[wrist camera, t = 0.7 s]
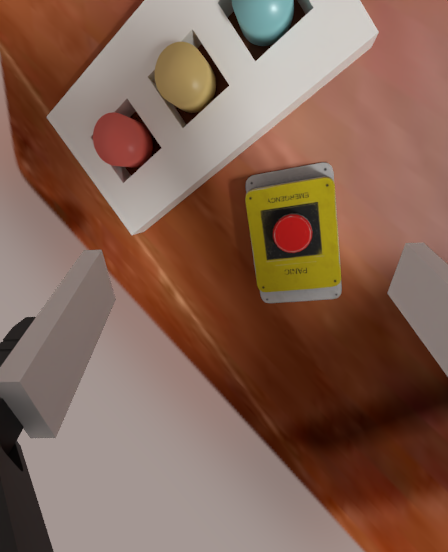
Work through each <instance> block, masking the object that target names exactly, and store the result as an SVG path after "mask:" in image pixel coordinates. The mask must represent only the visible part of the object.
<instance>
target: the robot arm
mask: <svg viewBox="0 0 448 552" xmlns="http://www.w3.org/2000/svg"><path fill="white" fill-rule="evenodd" d="M387 294H388V295H389V296H390V298H391V299H392V301H393V302H394V303H395V305H396V306H397V307H398V309H399V310H400V312H401V313H402V314H403V316H404V317H405V318H406V320H407V321H408V323H409V324H410V325H411V327H412V328H413V330H414V331H415V332H416V334H417V335H418V336H419V338H420V339H421V341H422V342H423V343H424V345H425V346H426V348H427V349H428V350H429V352H430V353H431V354H432V356H433V357H434V359H435V360H436V361H437V363H438V364H439V365H440V367H441V368H442V370H443V371H444V372H445V374H446V375H447V377H448V264H447V263H446V262H445V261H443V260H442V259H441V258H440V257H439V256H438V255H437V254H436V253H434V252H433V251H432V250H431V249H430V248H429V247H428V246H427V245H425V244H424V243H406V244H405V246H404V249H403V252H402V255H401V257H400V260H399V263H398V265H397V268H396V271H395V274H394V276H393V279H392V282H391V285H390V287H389V290H388V293H387ZM115 300H116V299H115V295H114V292H113V288H112V285H111V281H110V278H109V274H108V271H107V267H106V264H105V260H104V257H103V253H102V250H84V251H83V252H82V254H81V255H80V256H79V258H78V259H77V261H76V262H75V263H74V265H73V266H72V268H71V269H70V270H69V272H68V273H67V275H66V276H65V277H64V279H63V280H62V282H61V283H60V285H59V286H58V287H57V289H56V290H55V292H54V293H53V294H52V296H51V297H50V299H49V300H48V301H47V303H46V304H45V306H44V307H43V308H42V310H41V311H40V312H39V314H38V315H37V317H26V318H25V319H23V320H22V321H21V322H19V323H18V324H17V325H15V326H14V327H13V328H12V329H11V330H10V331H9V333H8V334H7V335H6V337H5V338H4V339H3V342H1V343H0V552H53V549H52V545H51V542H50V539H49V536H48V533H47V529H46V526H45V524H44V520H43V517H42V513H41V510H40V507H39V504H38V501H37V498H36V494H35V491H34V488H33V485H32V481H31V478H30V475H29V472H28V469H27V465H26V462H25V459H24V456H23V453H22V449H21V446H20V445H19V443H18V442H17V439H18V437H19V435H20V433H21V431H22V429H23V428H24V430H25V431H26V433H27V434H28V435H29V437H30V438H55V437H56V436H57V433H58V431H59V429H60V427H61V424H62V422H63V420H64V417H65V415H66V413H67V411H68V408H69V406H70V403H71V401H72V399H73V397H74V394H75V392H76V390H77V387H78V385H79V383H80V380H81V378H82V376H83V374H84V371H85V369H86V367H87V364H88V362H89V360H90V358H91V355H92V353H93V350H94V348H95V346H96V344H97V341H98V339H99V337H100V334H101V332H102V330H103V327H104V325H105V323H106V320H107V318H108V316H109V314H110V311H111V309H112V307H113V305H114V302H115Z"/></svg>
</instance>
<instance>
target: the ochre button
mask: <svg viewBox="0 0 448 552" xmlns="http://www.w3.org/2000/svg"><path fill="white" fill-rule="evenodd" d="M155 82H156V86H157V89H158V91H159V92H160V94H161V95H162V97H164V98H165V99H166V100H167V101H168V102H170V103H172V104H173V105H175V106H176V107H178V108H179V109H181V110H183V111H185V112H188V113H196V112H200V111H202V110H203V109H204V108H205V107H206V106H208V105H209V104H210V103H211V101H212V99H213V97H214V95H215V91H216V77H215V74H214V71H213V69H212V67H211V66H210V65H209V63H208V62H207V61H206V59H205V58H204V57H203V55H202V54H201V53H200V52H199V50H198V49H197V48H196V47H195V46H193V45H192V44H190V43H187V42H175V43H172V44H170V45H169V46H167V47H166V48H165V49H164V50H163V51H162V52H161V54H160V55H159V57H158V59H157V62H156V66H155Z"/></svg>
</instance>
